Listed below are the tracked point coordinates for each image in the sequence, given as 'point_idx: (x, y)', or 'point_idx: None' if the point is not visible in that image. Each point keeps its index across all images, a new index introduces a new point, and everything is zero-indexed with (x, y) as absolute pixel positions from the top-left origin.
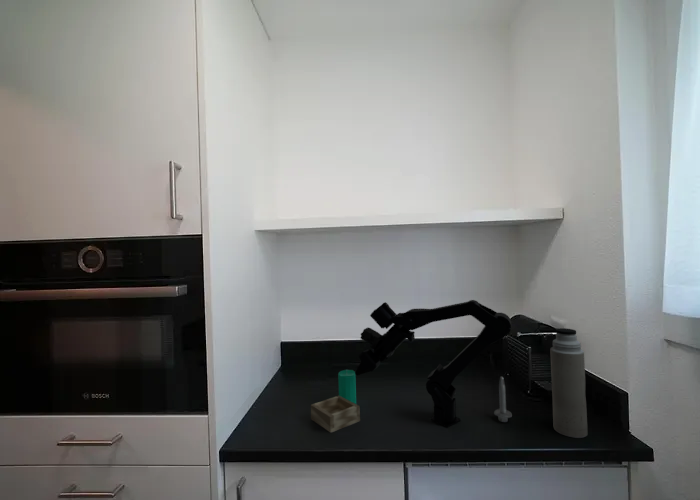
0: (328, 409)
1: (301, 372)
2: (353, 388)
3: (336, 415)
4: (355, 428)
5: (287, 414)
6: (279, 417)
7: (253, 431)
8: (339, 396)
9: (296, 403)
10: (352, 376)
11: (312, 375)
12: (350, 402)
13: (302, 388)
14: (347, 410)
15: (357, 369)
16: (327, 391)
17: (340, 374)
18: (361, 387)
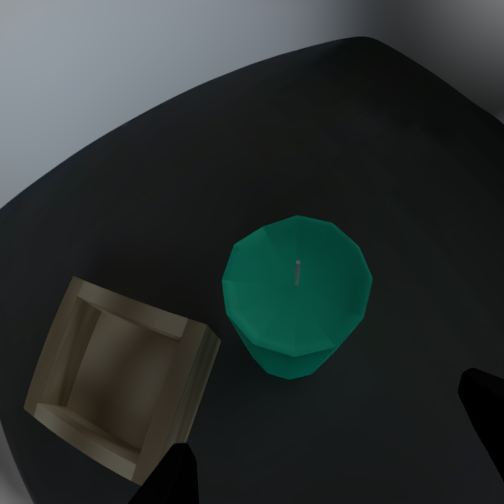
0: (144, 328)
1: (379, 65)
2: (286, 369)
3: (44, 424)
4: (118, 481)
5: (109, 211)
6: (87, 208)
7: (23, 218)
8: (196, 335)
9: (187, 175)
10: (280, 355)
11: (391, 90)
12: (160, 430)
13: (298, 117)
14: (85, 453)
15: (145, 488)
16: (338, 187)
17: (263, 246)
18: (460, 272)
